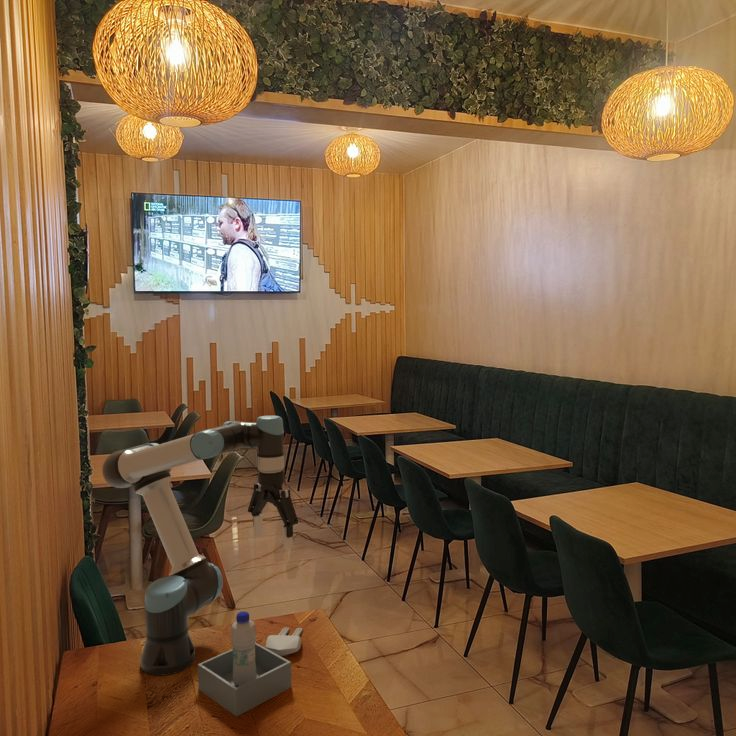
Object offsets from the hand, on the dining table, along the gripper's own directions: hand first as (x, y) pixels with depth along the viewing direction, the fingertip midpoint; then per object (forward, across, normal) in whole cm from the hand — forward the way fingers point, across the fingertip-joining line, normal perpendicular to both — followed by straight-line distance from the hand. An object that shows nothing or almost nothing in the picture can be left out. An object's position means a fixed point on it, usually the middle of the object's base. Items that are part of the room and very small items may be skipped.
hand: (272, 542), depth 184 cm
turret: (+35, +4, -8) cm, 36 cm away
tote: (+35, -6, +15) cm, 38 cm away
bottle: (+34, -6, +15) cm, 37 cm away
